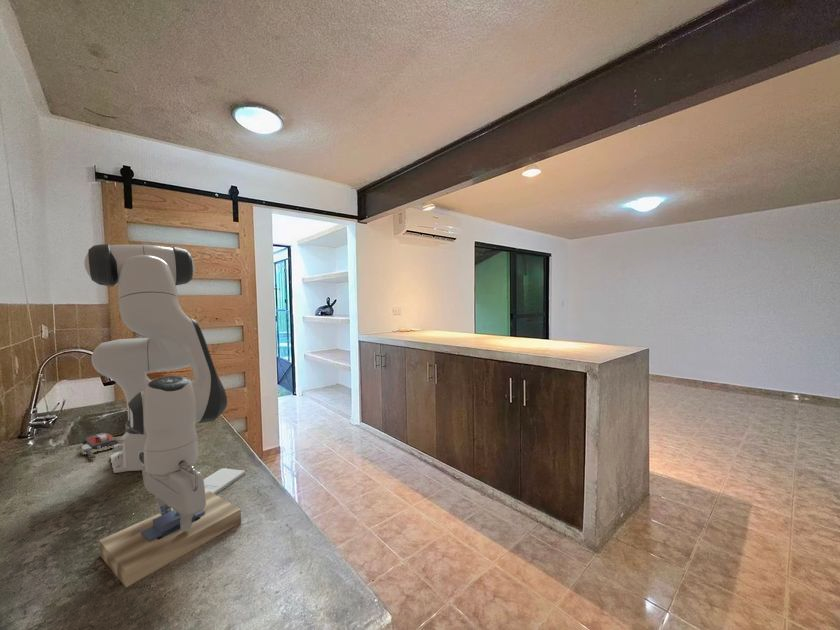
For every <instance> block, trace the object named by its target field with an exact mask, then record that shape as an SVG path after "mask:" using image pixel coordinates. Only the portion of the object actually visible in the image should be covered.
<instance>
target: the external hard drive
mask: <svg viewBox="0 0 840 630" xmlns="http://www.w3.org/2000/svg"><path fill="white" fill-rule="evenodd" d="M245 475H246V471H245V470H243V469H242V470H240V469H236V468H235V469H234V468H226V467H225V468H224V467H223V468H220V469H218V470H217V471H215V472H213V473H212V474H210V475H209V476H206V477H205V478H203V480H204V487H205V493H206V492H208V491H210V492H212V493H214V494H215V495H217V494H218V493H220V492H221V491H223V490H225V489H226V488H227V487H228V486H229V487H230V485H231V484H233V483H234V482H236V481H238V480H239V479H240V478H242V477H243V476H245Z"/></svg>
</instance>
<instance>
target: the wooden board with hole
mask: <svg viewBox="0 0 840 630" xmlns="http://www.w3.org/2000/svg"><path fill="white" fill-rule="evenodd" d="M205 497H206V505H205V508H204V509H203V510H204V511H205V514H203V515H202V516H200V517H198V518H196V519H195V522H193V523H192V526H191V528H190V529H188V530H186V531H184V532H182V531H181V530H180V529H179V530H177V531H175V532H173V533H171V534H169V535H167V536H165V537H163V538H161V539H159V540H158V539H155V540H153V541H151V542H149V541H148V540H147V539H145V538H144V537H143V536H142V535H141V532H142V531H144V530H146V529H148V528H150V527H152V526H153V520H154V519H156V518H158V517H160V516H162V515H161V514H159V513H157V514H155V515H153V516H150V517H148V518H146V519H144V520H142V521H140V522H138V523H135V524H132V525H131V526H128V527H126V528H123V529H121V530H119V531H117V532H115V533H113V534H110V535H108V536H106V537H104V538H102V539H100V540H99V541H98V544H99V556H100V558H101V559H102V560H103V562H104V563H105V564H106V565H107V566H108V567H109V569H110V570H111V571H112V572H113V574H114V575H115V576H116V578H117V579H118V580H119V581H120V582H121V583H122V585H123V586H124V587H125V588H128V587H130V586H132V585H133V584H135V583H137V582H138V581H141V580H142V579H144V578H146V577H148V576H149V575H151V574H154V572H156V571H159V570H160V569H162V568H163V567H165V566H166V565H168V564H170V563H172V562H174V561H175V560H178V559H180V557H183V556H184V555H186V554H188V553H190V552H191V551H193V550H195V549H197V548H199V547H200V546H202V545H204V544H206V543H207V542H210V541H211V540H213V539H214V538H216V537H218V536H220V535H221V534H224V533H225V532H227V531H228V530H230V529H232V528H233V527H235V526H238V525H240V524H241V523H242V509H241V508H239V507H237V506H236V505H235V504H232V503H231V502H229V501H228V500H226V499H224V498H222V497H221V496H219V495H217V494H216V495H215V494H214V493H212V492H210V491H208V492H206V493H205ZM173 510H174V509H173V508H171V511H173Z"/></svg>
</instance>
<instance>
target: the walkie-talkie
mask: <svg viewBox="0 0 840 630" xmlns="http://www.w3.org/2000/svg"><path fill="white" fill-rule="evenodd" d="M117 443H118V444H119V440H118V439H117V438H115V437H114V436H113V435H112V434H110V433H108V432H102V433H97V434H94V435H90V436H87V437H86V438H85V439H84V440H83V441H82V444H83V445H81V447H80V451H81V450H82V451H83V452H86V453H87V454H88V455H89V456H90V457H89V456H88V455H87V456H88V457H89V458H91V459H93V458H94V459H96V455H95V453H92V452H91V451H90V450H92V449H99V448H102V447H105V446H107V447H108V446H112V445H115V444H117ZM84 444H85V445H84Z"/></svg>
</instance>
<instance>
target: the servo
mask: <svg viewBox="0 0 840 630" xmlns="http://www.w3.org/2000/svg"><path fill="white" fill-rule="evenodd" d="M203 514H205V511H204V510H202V511H200V512H198V513H196V514H194V515H193V517H192V519H191V521H192V523H193V522H195V519H196V518H198V517H200V516H202V515H203ZM180 519H181V516H180V514H179V513H178V512H177V511H175V510H173V511H171V512H168V513H166V514H164V515H162V516H160V517H158V518H156V519H154V520H153V526H152V527H150V528H148V529H146V530H144V531H142V532H141V535H142V536H143V537H144V538H145V539H147V540H148V541H149V542H151V541H153V540H155V539H158V540H159V539H161V538H163V537H165V536H167V535H169V534H171V533H173V532H175V531H177V530H179V528H178V527H179V526H178V521H180Z"/></svg>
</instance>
